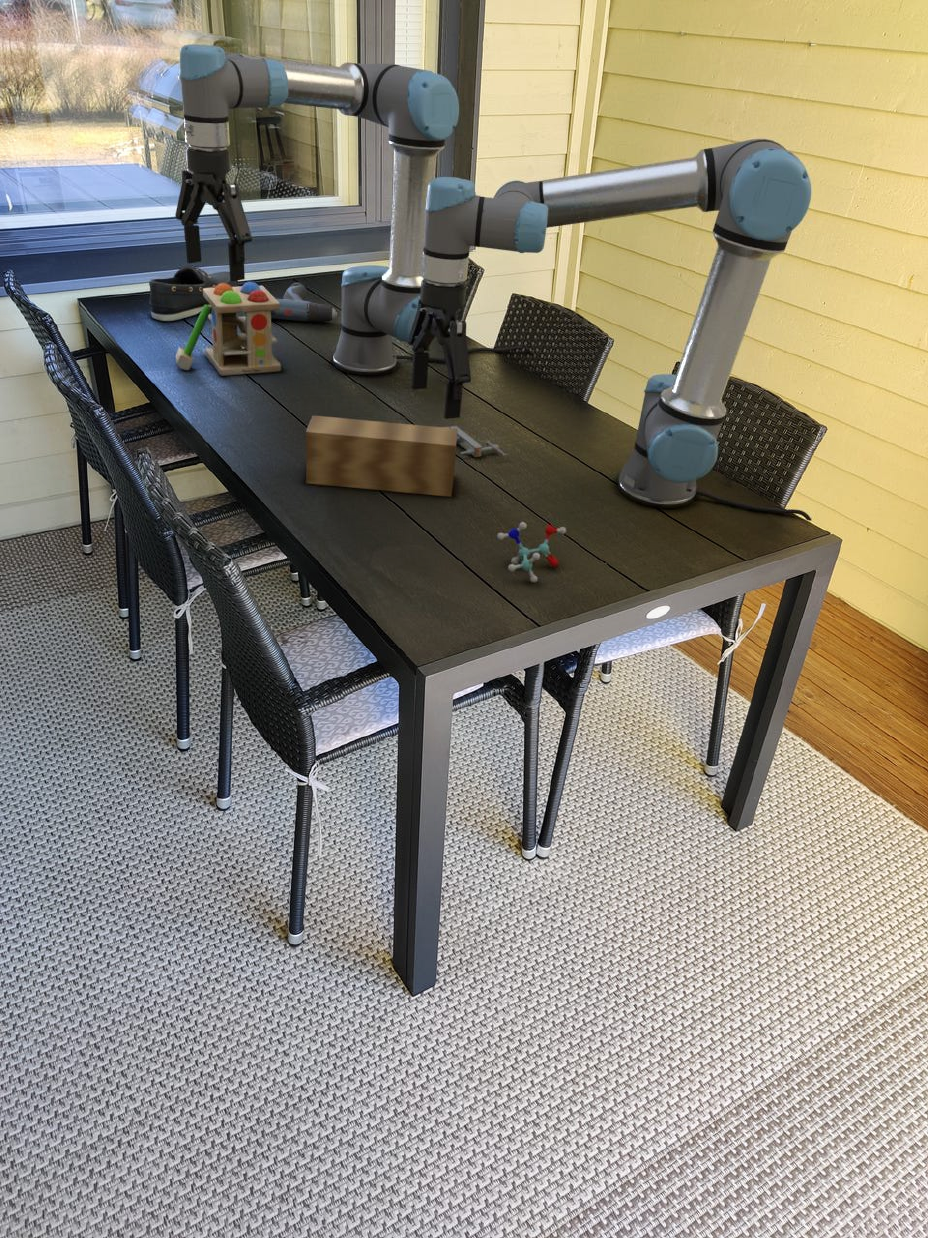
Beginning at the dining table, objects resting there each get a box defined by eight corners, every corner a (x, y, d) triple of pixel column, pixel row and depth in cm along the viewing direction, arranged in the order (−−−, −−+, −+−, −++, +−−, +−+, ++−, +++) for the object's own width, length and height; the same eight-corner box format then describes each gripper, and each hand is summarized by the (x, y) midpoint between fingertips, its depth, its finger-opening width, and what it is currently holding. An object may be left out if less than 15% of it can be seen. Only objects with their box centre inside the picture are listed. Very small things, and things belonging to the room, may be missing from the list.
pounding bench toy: (183, 379, 220) (176, 299, 210) (169, 357, 231) (162, 280, 221) (282, 371, 230) (280, 294, 220) (264, 350, 240) (262, 276, 230)
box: (306, 483, 184) (305, 431, 178) (313, 465, 190) (312, 415, 185) (451, 496, 185) (455, 445, 179) (453, 478, 191) (457, 428, 185)
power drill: (344, 304, 276) (335, 327, 259) (277, 298, 275) (264, 321, 258) (344, 285, 273) (335, 306, 256) (277, 279, 272) (264, 300, 255)
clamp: (430, 428, 204) (472, 422, 209) (430, 438, 205) (471, 431, 210) (466, 458, 194) (509, 450, 198) (465, 468, 195) (508, 460, 199)
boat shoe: (257, 300, 274) (255, 261, 268) (168, 323, 250) (164, 281, 244) (224, 291, 279) (221, 254, 274) (133, 313, 256) (128, 272, 250)
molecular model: (561, 577, 156) (542, 517, 155) (507, 592, 160) (488, 534, 159) (577, 563, 167) (559, 507, 166) (526, 578, 171) (508, 523, 169)
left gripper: (149, 135, 176) (160, 257, 188) (233, 161, 163) (239, 290, 175) (185, 133, 181) (193, 252, 193) (269, 158, 168) (273, 284, 180)
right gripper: (499, 302, 154) (486, 427, 166) (432, 258, 172) (424, 375, 184) (457, 304, 151) (446, 432, 163) (393, 260, 169) (387, 378, 181)
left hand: (215, 270), depth 184 cm, fingers open, 13 cm apart
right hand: (434, 402), depth 173 cm, fingers open, 13 cm apart
